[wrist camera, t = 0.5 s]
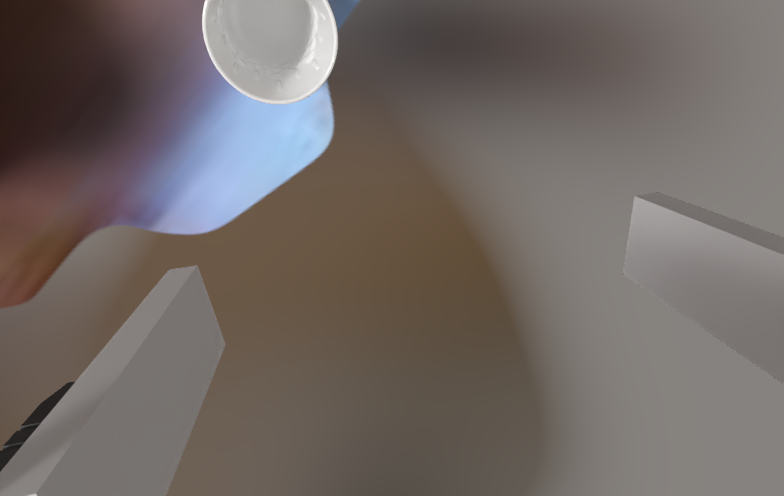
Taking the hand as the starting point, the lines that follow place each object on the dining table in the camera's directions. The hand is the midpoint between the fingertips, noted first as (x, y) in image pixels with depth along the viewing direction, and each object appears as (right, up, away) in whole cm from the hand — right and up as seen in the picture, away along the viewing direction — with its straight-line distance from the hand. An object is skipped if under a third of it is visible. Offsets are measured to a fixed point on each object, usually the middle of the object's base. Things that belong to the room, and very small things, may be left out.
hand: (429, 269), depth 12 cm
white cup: (-11, +19, +20) cm, 30 cm away
